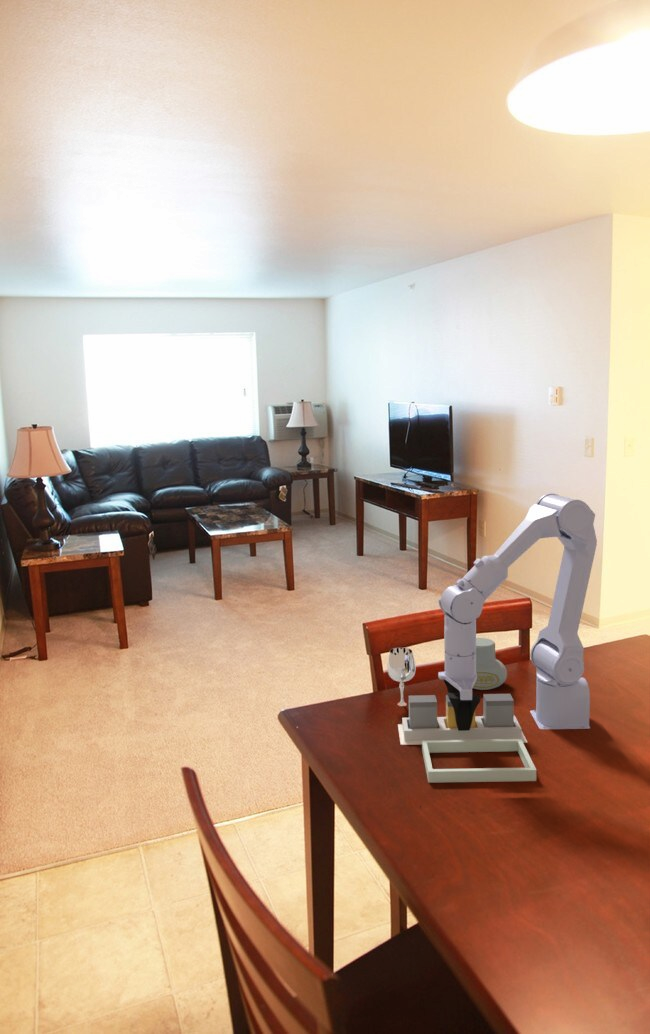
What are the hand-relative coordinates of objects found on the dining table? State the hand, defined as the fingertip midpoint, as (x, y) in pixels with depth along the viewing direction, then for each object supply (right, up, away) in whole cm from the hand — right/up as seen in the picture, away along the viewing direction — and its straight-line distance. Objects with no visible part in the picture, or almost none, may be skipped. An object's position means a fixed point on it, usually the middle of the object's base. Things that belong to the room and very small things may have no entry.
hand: (460, 720), depth 133 cm
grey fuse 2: (+7, -2, 0) cm, 7 cm away
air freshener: (+9, +1, +23) cm, 25 cm away
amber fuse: (0, -3, 0) cm, 3 cm away
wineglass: (-9, -1, +14) cm, 17 cm away
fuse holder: (0, -3, +1) cm, 3 cm away
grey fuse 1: (-7, -3, +1) cm, 7 cm away
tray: (+1, -5, -11) cm, 12 cm away
